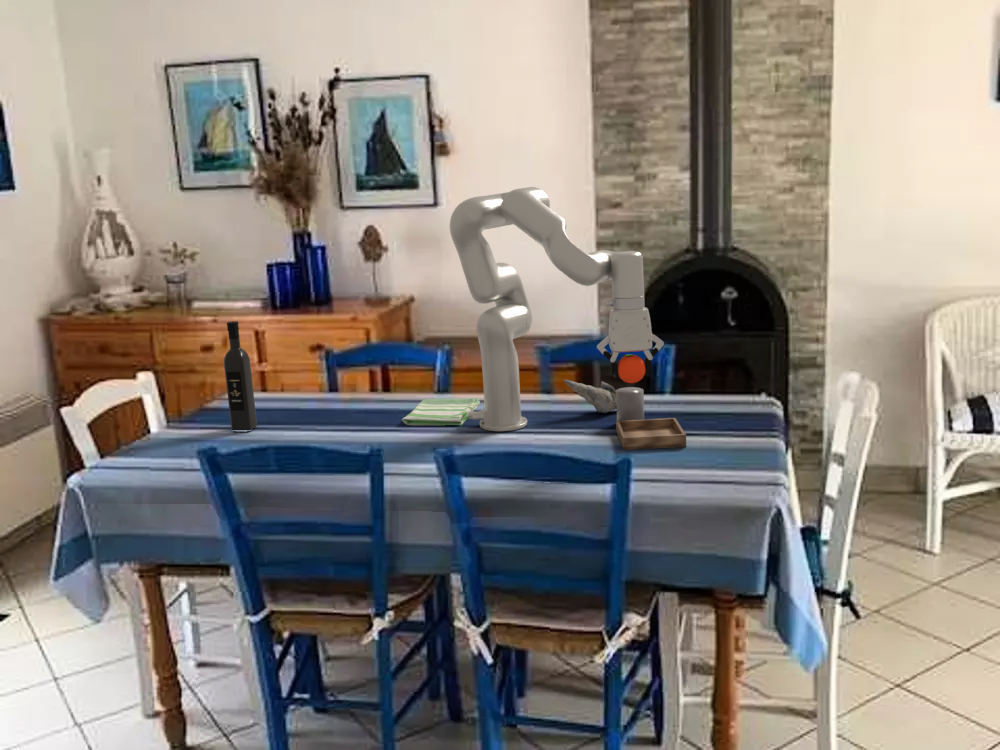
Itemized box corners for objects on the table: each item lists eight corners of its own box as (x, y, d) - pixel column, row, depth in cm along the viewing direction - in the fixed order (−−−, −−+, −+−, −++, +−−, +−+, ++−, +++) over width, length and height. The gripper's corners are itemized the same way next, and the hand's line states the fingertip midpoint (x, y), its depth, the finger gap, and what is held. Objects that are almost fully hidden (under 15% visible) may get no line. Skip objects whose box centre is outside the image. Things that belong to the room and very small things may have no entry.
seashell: (627, 416, 274) (626, 379, 271) (564, 416, 276) (562, 380, 274) (628, 406, 283) (627, 371, 281) (567, 407, 286) (566, 372, 284)
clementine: (610, 381, 252) (609, 352, 250) (636, 377, 254) (635, 349, 252) (625, 387, 244) (624, 358, 243) (651, 383, 247) (650, 354, 245)
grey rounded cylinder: (618, 428, 263) (617, 394, 261) (615, 421, 270) (614, 388, 268) (646, 427, 263) (645, 393, 261) (642, 419, 270) (641, 386, 268)
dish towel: (481, 404, 296) (480, 395, 295) (464, 427, 274) (463, 417, 273) (421, 405, 299) (421, 395, 299) (399, 427, 277) (398, 417, 276)
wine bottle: (249, 432, 278) (237, 323, 271) (230, 432, 279) (217, 324, 272) (258, 427, 283) (246, 320, 276) (239, 426, 284) (227, 320, 278)
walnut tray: (623, 450, 245) (623, 438, 244) (616, 432, 260) (616, 421, 259) (686, 446, 245) (686, 434, 244) (675, 429, 259) (675, 417, 259)
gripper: (593, 308, 241) (596, 382, 245) (667, 303, 241) (669, 377, 245) (591, 303, 249) (594, 375, 253) (662, 299, 248) (665, 370, 252)
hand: (631, 375), depth 249 cm, fingers closed on clementine, 7 cm apart
